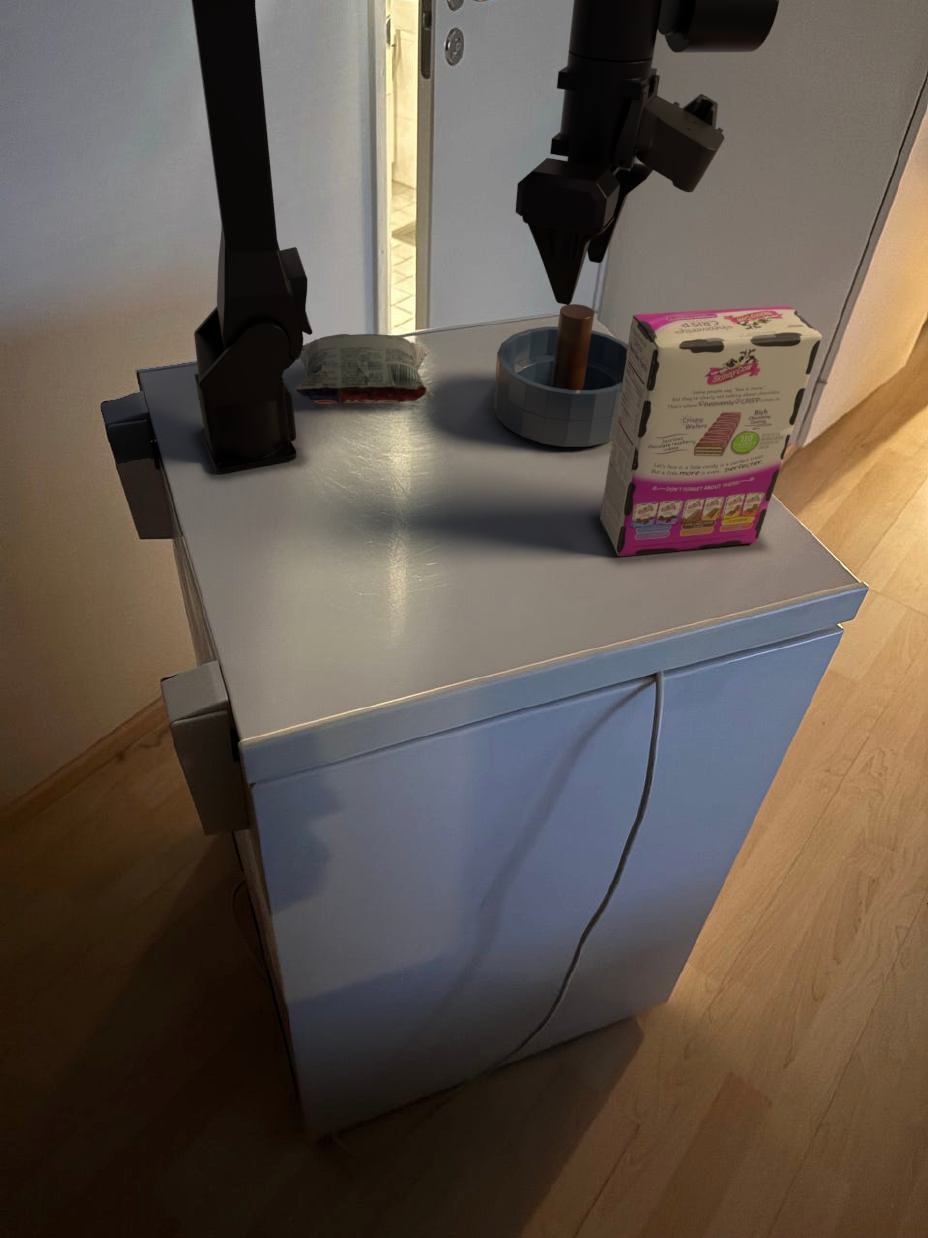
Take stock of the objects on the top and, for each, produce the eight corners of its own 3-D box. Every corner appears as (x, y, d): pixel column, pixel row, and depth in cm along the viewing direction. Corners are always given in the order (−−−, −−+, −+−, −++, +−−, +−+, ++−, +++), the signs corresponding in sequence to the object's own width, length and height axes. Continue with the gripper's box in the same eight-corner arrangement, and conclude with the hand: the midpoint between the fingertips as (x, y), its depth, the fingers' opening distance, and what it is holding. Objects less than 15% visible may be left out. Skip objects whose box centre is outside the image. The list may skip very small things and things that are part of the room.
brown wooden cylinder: (557, 420, 77) (570, 320, 71) (542, 404, 79) (554, 306, 73) (585, 414, 78) (600, 315, 72) (570, 399, 80) (583, 301, 74)
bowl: (531, 464, 73) (538, 404, 69) (471, 394, 81) (474, 337, 77) (657, 438, 77) (670, 379, 73) (588, 373, 85) (596, 318, 81)
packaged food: (302, 367, 83) (297, 317, 80) (429, 368, 84) (430, 318, 81) (296, 416, 77) (291, 364, 74) (433, 416, 78) (435, 365, 75)
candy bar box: (730, 506, 70) (792, 302, 59) (757, 545, 66) (829, 336, 55) (594, 517, 68) (631, 309, 57) (614, 558, 64) (658, 344, 53)
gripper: (704, 98, 52) (654, 350, 62) (750, 43, 65) (702, 260, 75) (523, 73, 54) (504, 319, 65) (602, 25, 67) (576, 237, 78)
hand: (580, 281), depth 71 cm, fingers open, 9 cm apart
